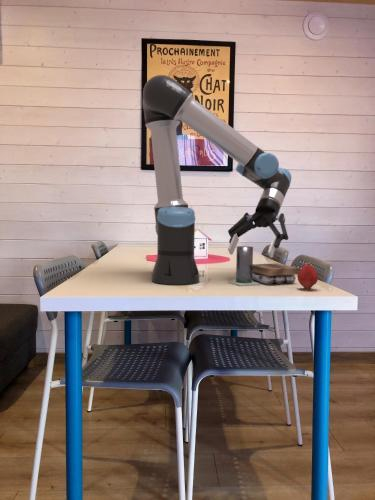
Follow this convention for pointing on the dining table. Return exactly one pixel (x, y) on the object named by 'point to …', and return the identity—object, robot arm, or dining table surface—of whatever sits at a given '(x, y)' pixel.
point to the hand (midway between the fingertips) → (249, 253)
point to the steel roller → (244, 264)
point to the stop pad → (244, 283)
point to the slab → (274, 269)
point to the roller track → (273, 278)
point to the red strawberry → (307, 276)
